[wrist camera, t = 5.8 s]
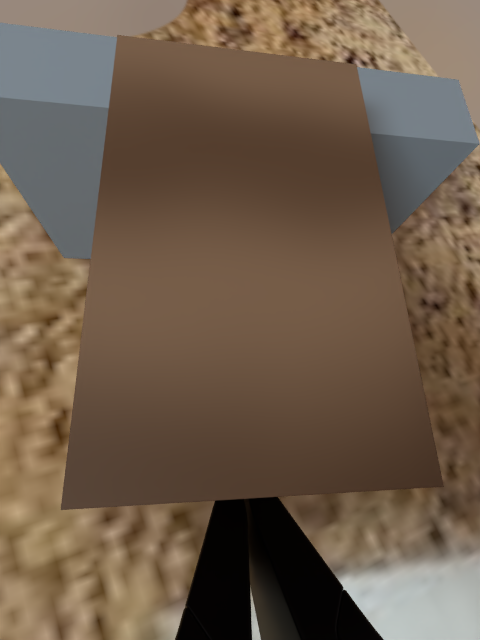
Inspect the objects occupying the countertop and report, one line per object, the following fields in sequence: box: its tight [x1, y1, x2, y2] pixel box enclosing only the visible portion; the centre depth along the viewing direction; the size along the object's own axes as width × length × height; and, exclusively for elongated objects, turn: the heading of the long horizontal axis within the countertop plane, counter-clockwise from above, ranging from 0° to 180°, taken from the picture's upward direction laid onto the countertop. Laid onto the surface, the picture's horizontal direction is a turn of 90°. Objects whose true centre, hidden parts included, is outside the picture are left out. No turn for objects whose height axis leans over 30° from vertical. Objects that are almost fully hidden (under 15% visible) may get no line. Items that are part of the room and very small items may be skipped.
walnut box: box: [61, 35, 444, 510], centre depth 12 cm, size 10×6×11 cm, turn 2°
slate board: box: [0, 23, 479, 259], centre depth 15 cm, size 3×16×9 cm, turn 92°
